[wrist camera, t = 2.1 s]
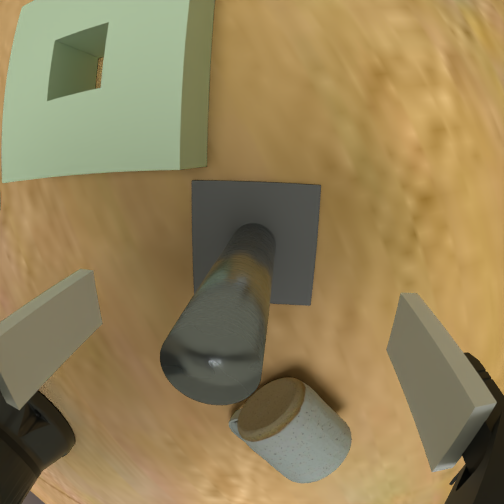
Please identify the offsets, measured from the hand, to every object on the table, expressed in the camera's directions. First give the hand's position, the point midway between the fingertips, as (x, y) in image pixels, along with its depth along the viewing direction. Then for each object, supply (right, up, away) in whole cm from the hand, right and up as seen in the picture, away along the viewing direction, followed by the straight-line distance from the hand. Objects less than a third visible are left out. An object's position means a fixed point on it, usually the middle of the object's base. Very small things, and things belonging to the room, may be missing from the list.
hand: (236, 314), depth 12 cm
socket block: (-10, +16, +8) cm, 20 cm away
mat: (+1, +3, +10) cm, 11 cm away
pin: (+1, +3, +10) cm, 11 cm away
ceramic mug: (+4, -13, +15) cm, 20 cm away
